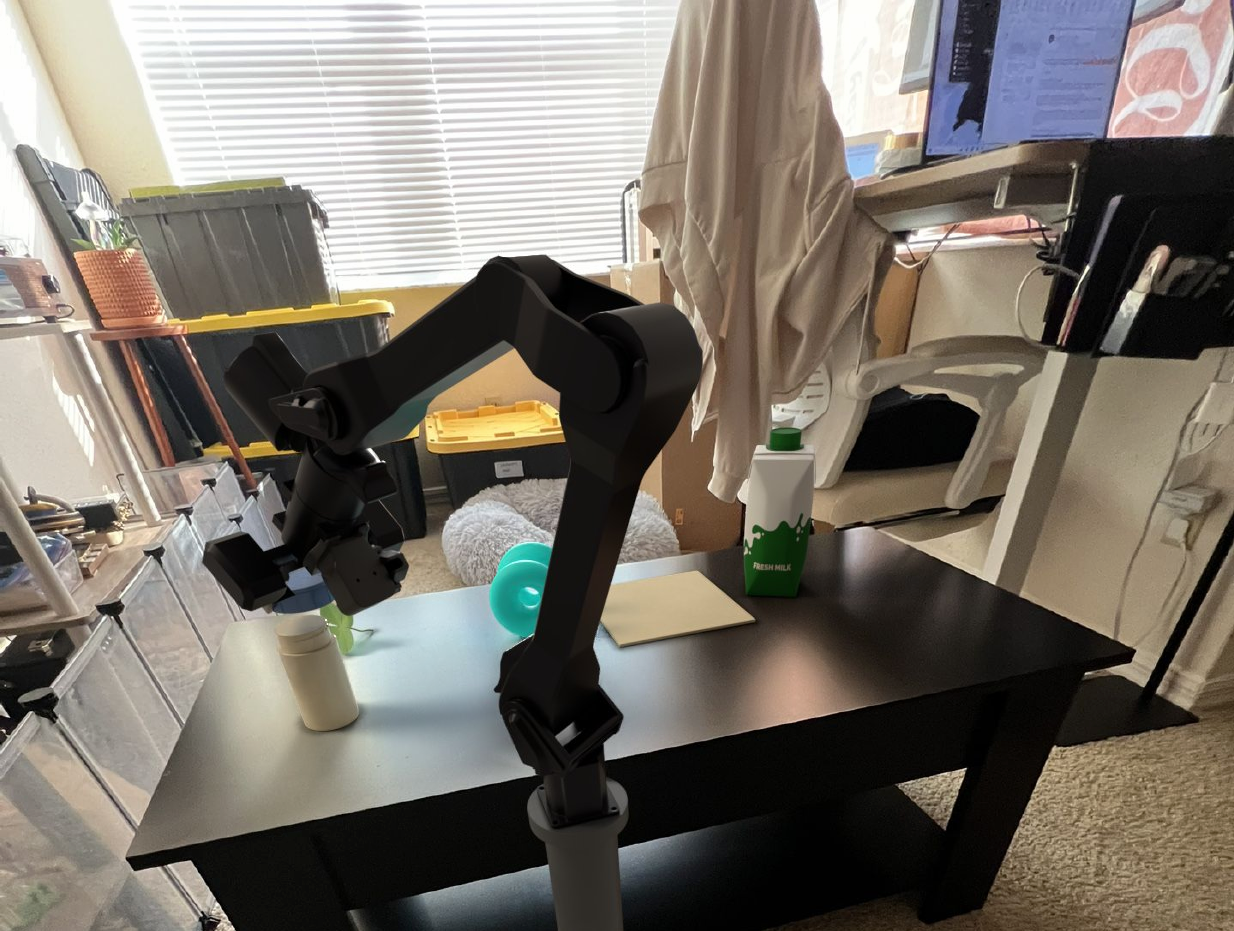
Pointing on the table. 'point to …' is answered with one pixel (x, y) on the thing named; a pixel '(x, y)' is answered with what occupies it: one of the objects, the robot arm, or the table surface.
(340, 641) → the green clover
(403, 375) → the robot arm
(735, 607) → the placemat
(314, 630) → the jar
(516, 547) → the turquoise spool
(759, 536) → the milk carton
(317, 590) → the lid
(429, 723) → the table surface
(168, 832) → the table surface
